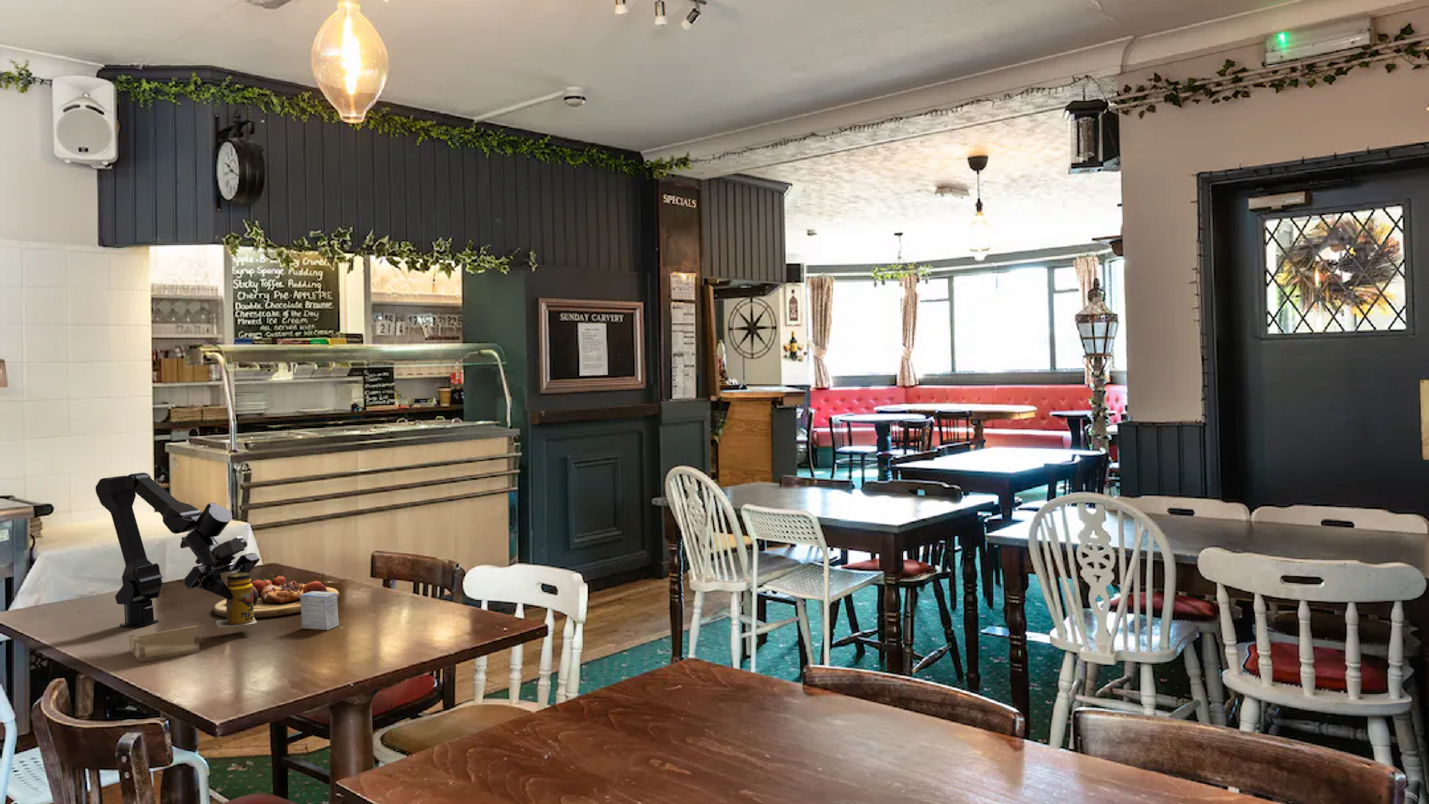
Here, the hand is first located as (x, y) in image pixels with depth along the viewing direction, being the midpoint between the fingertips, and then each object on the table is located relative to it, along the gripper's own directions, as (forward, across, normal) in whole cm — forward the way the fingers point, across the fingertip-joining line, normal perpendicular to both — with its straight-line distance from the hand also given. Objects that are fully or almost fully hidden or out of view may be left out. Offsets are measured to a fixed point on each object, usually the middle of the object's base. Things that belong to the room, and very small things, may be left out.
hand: (242, 595), depth 241 cm
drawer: (+2, -17, +11) cm, 20 cm away
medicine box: (+17, +10, -4) cm, 20 cm away
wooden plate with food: (-3, +27, +18) cm, 32 cm away
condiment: (+4, -1, +6) cm, 7 cm away
